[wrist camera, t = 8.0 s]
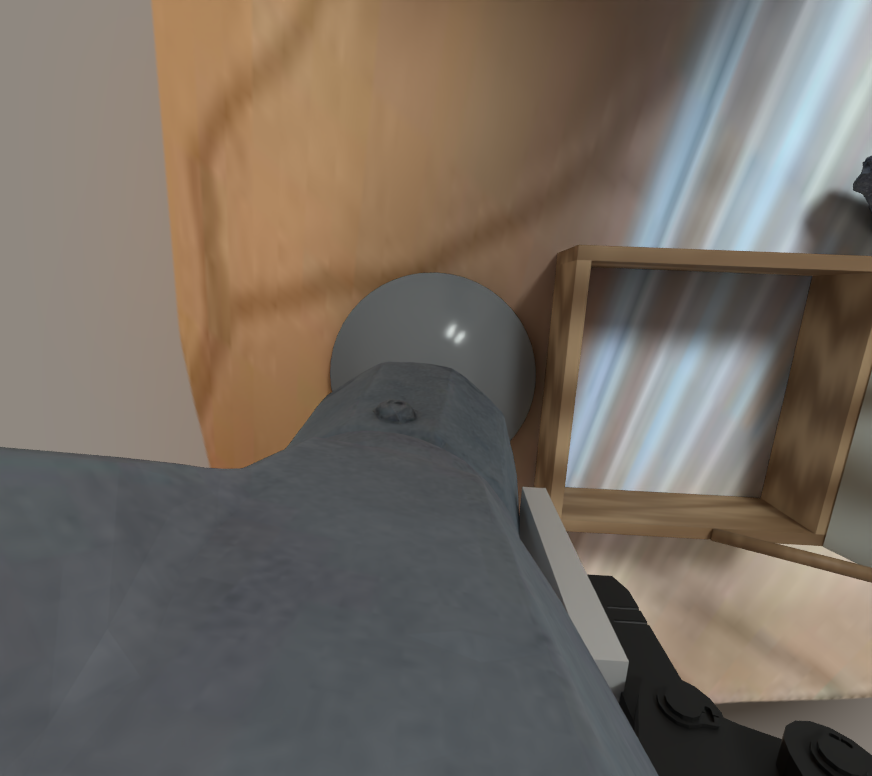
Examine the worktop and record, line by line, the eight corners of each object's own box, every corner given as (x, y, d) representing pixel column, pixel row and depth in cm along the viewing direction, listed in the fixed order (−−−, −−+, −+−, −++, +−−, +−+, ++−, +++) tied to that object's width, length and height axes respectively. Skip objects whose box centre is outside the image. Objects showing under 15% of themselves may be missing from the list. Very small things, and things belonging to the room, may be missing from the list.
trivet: (331, 268, 36) (328, 268, 35) (543, 277, 35) (545, 277, 34) (334, 464, 40) (331, 469, 39) (524, 475, 39) (526, 479, 38)
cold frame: (557, 253, 35) (879, 127, 9) (926, 267, 34) (2533, 177, 8) (533, 495, 40) (690, 886, 13) (854, 512, 39) (1691, 967, 13)
